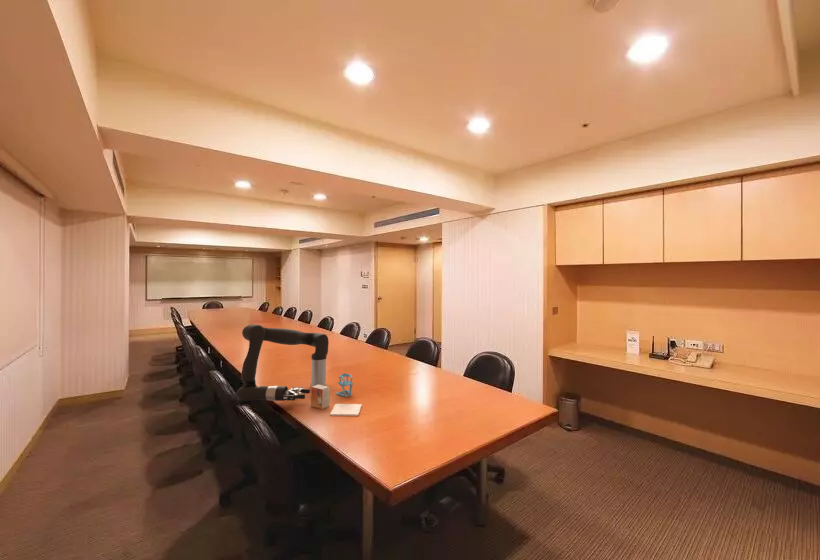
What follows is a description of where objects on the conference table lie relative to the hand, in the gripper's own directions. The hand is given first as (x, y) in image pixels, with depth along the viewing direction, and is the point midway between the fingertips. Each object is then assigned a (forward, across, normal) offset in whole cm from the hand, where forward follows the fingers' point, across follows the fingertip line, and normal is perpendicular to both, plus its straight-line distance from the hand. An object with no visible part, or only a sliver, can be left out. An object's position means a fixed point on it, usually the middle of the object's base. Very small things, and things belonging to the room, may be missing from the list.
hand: (307, 393), depth 180 cm
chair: (+17, +19, +7) cm, 26 cm away
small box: (+7, 0, +7) cm, 10 cm away
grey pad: (+22, -5, +6) cm, 23 cm away
